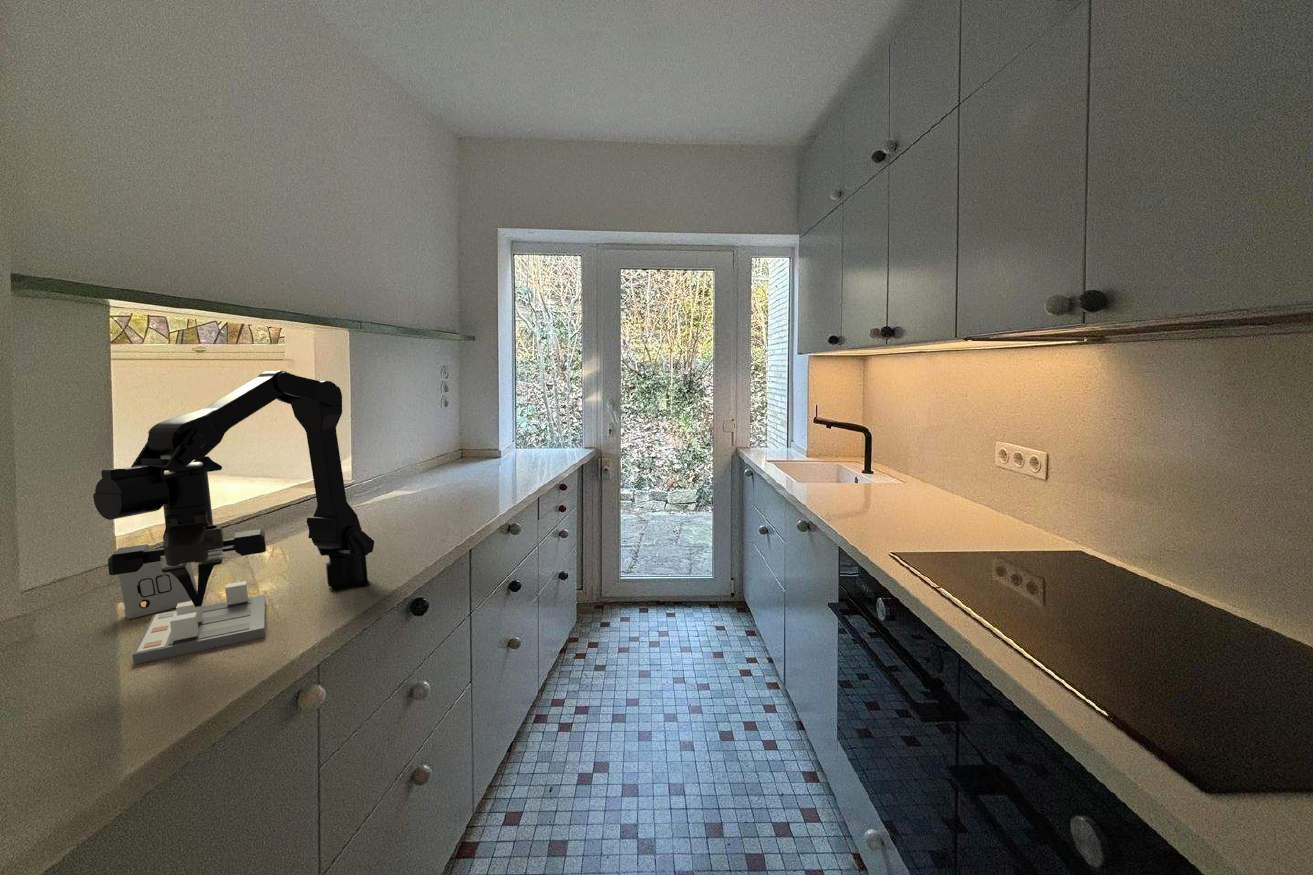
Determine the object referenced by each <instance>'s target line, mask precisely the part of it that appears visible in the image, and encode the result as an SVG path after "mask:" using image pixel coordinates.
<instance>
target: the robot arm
mask: <svg viewBox="0 0 1313 875" xmlns="http://www.w3.org/2000/svg"><path fill="white" fill-rule="evenodd" d="M275 400H277V401H279V402H281V403H285V404H287V405H290V406H291V409H292V412H293V415H294V418H295V419H296V420H297V421H298V423H299V424H300V426H301V427H302V428H303V429H304V431H305V434H306V438H307V439H306V441H307V446H308V454H309V459H310V466H311V472H312V477H313V478H312V479H313V480H312V481H313V484H314V492H315V498H316V505H317V507H316V509H315V510H314V513H313V516H308V517H307V518H306V524H307V528H308V539H311V542H312V543H313V545H314V546H315V547H317V550H318V552H319V554H320V556H328V562H326V563H325V570H326V578H327V579H326V580H327V586H328V587H329V588H331V591H332V592H339V591H345V590H350V589H356V588H360V587H361V588H362V587H365V586H369V585H370V581H369V579H368V578H369V576H368V564H367V556H368V555H369V554H370V553H373V552H374V546H375V540H374V539H373V538H372V537H370V536H369V535H368V534H367V533H366V532H364V530H362V527H361V523H360V521H359V517H358V514H357V513H356V512H355V510H354V509H353V507H351V505H350V504H349V503H348V501H347V495H346V489H345V488H346V487H345V481H344V474H343V469H342V461H341V454H340V448H339V447H340V446H339V441H338V440H339V439H338V434H337V426H338V424H339V421H340V419H341V417H342V415H343V394H342V390H341V387H340V386H338V385H337V384H335V382H332V381H331V380H316V379H312V378H307V377H303V376H299V375H296V374H293V373H290V372H287V371H285V370H277V371H276V370H275V371H273V370H272V371H264V372H262V373H260V374H258V375H257V377H256V378H254V379H252V380H250V381H249V382H247V383H245V384H244V385H242V386H240V387H238V388H236V389H235V390H233V391H232V392H230V393H228V394H226V395H224V396H223V397H221V398H219V399H217V400H216V401H214V402H212V403H211V404H209V405H208V406H206V407H204V408H202V409H199V410H196V411H193V412H189V413H185V414H184V413H183V414H181V415H177V416H175V417H172V418H168V419H167V420H166V419H165V420H163V421H160V422H158V423H155V424H154V425H153V426H151V427H150V429H149V430H148V437H147V441H146V443H145V445H144V446H143V448H142V449H141V451H140V452H139V454H138V455H137V457H136V458H135V459H134V462H133V463H132V464H131V466H130V467H125V468H107V469H106V468H105V469H102V470H101V479H99V481H98V482H97V483H96V486H95V489H94V493H93V494H92V496H93V503H94V506H95V509H96V511H97V512H98V514H99V515H100V516H101V517H103V519H106V520H109V521H110V520H111V521H112V520H117V519H122V518H128V517H133V516H138V515H142V514H147V513H151V512H157V511H160V510H161V509H162V508H163V516H164V524H165V526H164V527H165V529H164V533H163V535H162V540H163V541H162V542H163V543H162V546H163V548H155V549H150V546H149V544H148V543H145V544H140V545H133V546H132V545H131V546H124V547H119V548H117V550H115V552H113V553H112V555H111V556H110V557H108V559H107V566H108V575H109V576H118V574H125V573H131V572H137V571H138V570H139V569H140V568H141V567H142V566H143V565H144V564H145V563H152V562H158V561H161V564H162V566H163V568H162V569H161V571H162V573H168V572H170V573H171V574H173V575H174V576H175V577H176V578H177V579H178V580H179V581H180V583H181V584H182V585H183V587H184V589H185V590H186V592H187V594H188V596H189V597H190V599H191V601H192V602H193V604H194V606H195V607H198V606H203V603H204V599H205V594H206V591H207V588H208V584H209V583H208V582H209V578H210V576H211V574H212V571H213V569H214V567H215V566H216V565H218V566H219V565H222V564H223V562H224V557H225V552H232V551H234V552H235V553H237V554H238V555H240V556H241V557H243V556H251V555H255V554H262V553H265V552H267V540H266V531H264V530H262V529H260V528H259V529H258V528H257V529H250V530H242V531H237V532H236V531H235V534H234V537H233V538H228V539H224V533H223V526H222V524H221V523H218V524H217V523H216V524H214V521H213V511H212V501H211V500H212V499H211V495H210V494H211V493H210V482H209V473H210V472H216V471H221V470H222V469H223V466H222V464H221V465H220V464H219V463H217V462H215V461H214V460H212V459H211V457H210V456H208V454H210V452H211V451H213V450H214V449H215V448H216V447H217V446H218V445H219V444H220V443H221V442H222V440H223V438H224V436H225V435H226V433H227V432H228V431H229V430H230V429H231V428H233V427H235V426H236V425H238V424H239V423H241V422H242V421H244V420H246V419H247V418H249V417H250V416H252V415H253V414H255V413H256V412H258V411H260V410H261V409H263V408H265V407H266V406H268V405H269V404H272V402H274V401H275ZM165 471H166V472H165ZM192 563H198V564H197V570H198V571H197V583H196V578H195V575H194V571H193V570H194V569H193V566H192Z"/></svg>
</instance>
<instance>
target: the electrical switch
mask: <svg viewBox="0 0 1313 875" xmlns="http://www.w3.org/2000/svg"><path fill="white" fill-rule="evenodd" d="M162 568H163V566H162V564H161V561H158V562H152V563H145V564H144V565H143V566H142V567H141V568H140V569H139V570H138V571H137V572H131V573H125V574H118V575H117V578H118V580H119V584H120V589H121V595H122V601H123V606H124V609H123V611H124V616H125V618H126V619H128V620H132V619H137V618H141V617H145V616H149V615H154V614H158V613H162V612H164V611H169V610H173V609H176V607H177V604H178V603H183V602H189V601H191V599H190V597H189V596H188V594H187V592H186V590H185V589H184V587H183V585H182V584H181V583H180V581H179V580H178V579H177V578H176V577H175V576H174V575H173V574H171V573H170V572H168V573H162V571H161V569H162ZM143 602H145V606H142V605H141V604H142V603H143Z"/></svg>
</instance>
